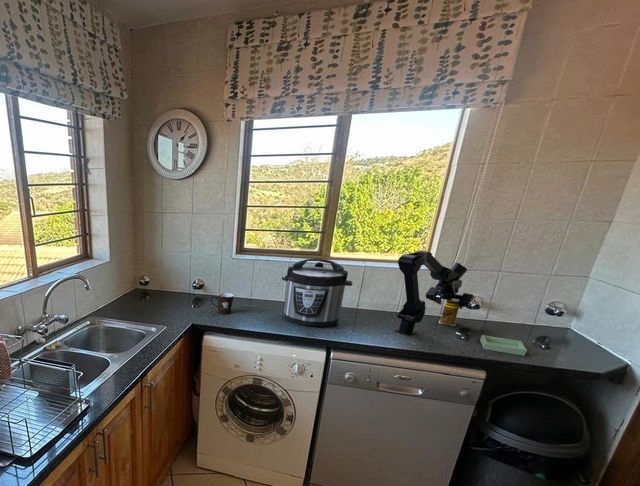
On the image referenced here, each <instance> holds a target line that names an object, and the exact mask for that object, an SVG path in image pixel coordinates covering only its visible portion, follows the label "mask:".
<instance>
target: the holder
mask: <svg viewBox="0 0 640 486" xmlns="http://www.w3.org/2000/svg"><path fill="white" fill-rule="evenodd" d="M479 341H480V344H481V346H482V348H483V350H487V351H493V352H499V353H504V354H512V355H518V356H523V357H525V356H526V354H527V352H528V349H527V348H526V346H525V345H524V343H523V342H522V341H521V340H516V339H510V338H503V337H498V336H491V335H484V334H482V335H480V338H479Z"/></svg>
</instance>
